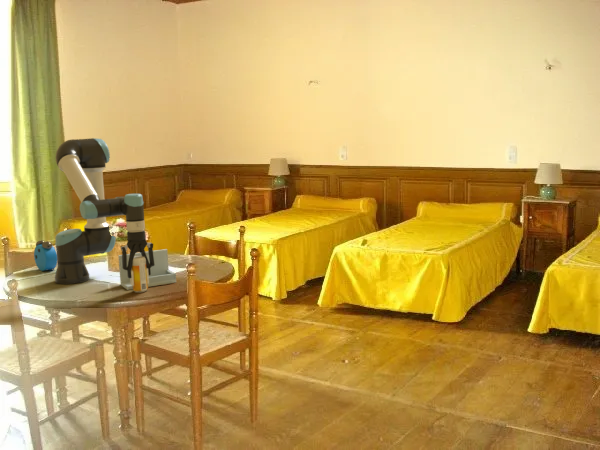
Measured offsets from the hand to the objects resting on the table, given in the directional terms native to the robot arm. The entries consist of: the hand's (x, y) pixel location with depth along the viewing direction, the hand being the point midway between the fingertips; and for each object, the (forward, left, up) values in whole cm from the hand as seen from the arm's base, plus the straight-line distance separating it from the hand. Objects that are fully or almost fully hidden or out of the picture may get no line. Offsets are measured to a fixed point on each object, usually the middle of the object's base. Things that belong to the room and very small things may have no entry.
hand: (139, 284), depth 283 cm
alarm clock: (-26, +72, -3) cm, 77 cm away
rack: (+7, +11, -3) cm, 13 cm away
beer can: (0, 0, -3) cm, 3 cm away
